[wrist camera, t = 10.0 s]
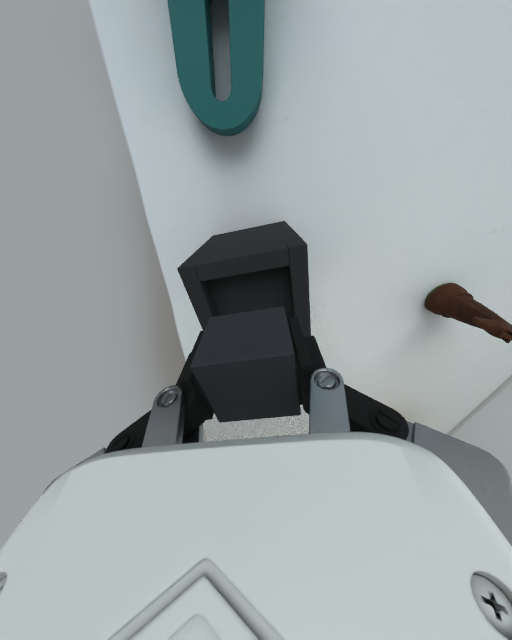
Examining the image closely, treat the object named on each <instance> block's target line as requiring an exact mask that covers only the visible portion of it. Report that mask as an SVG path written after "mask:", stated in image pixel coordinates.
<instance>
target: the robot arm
mask: <svg viewBox="0 0 512 640" xmlns="http://www.w3.org/2000/svg"><path fill="white" fill-rule="evenodd" d="M287 323H288V327H289V332H290V336H291V340H292V345H293V349H294V354H295V364H296V369H295V372H296V381H297V390H298V399H299V405H302V404H303V408H304V411H305V412H306V413H308V414H309V434H300V435H286V436H273V437H260V438H247V439H235V440H222V441H210V442H203V424H202V423H204V422H205V420H209V419H212V418H213V413H215V412H214V411H213V409H212V407H211V405H210V403H209V401H208V399H207V397H206V396H205V394H204V392H203V390H202V388H201V386H200V384H199V382H198V381H197V379H196V377H195V375H194V373H193V372H192V370H191V368H190V365H191V363H192V360H193V358H194V355H195V353H196V350H197V348H198V345H199V343H200V340H201V338H202V335H203V333H204V331H201V332H200V334H199V336H198V338H197V341H196V343H195V345H194V348H193V350H192V352H191V353H190V354H189V356H188V358H187V361H186V363H185V365H184V368H183V370H182V372H181V375H180V377H179V379H178V381H177V384H176V386H169V387H167V388H165V389H163V390H162V391H161V392H160V393H159V394H158V395H157V397H156V398H155V400H154V403H153V407H152V410H151V411H149V412H148V413H146V414H145V415H144V416H142V417H141V418H140V419H138V420H137V421H136V422H134V423H133V424H131V425H130V426H129V427H127V428H126V429H125V430H124V431H122V432H121V433H119V434H118V435H117V436H116V437H115V438H114V439H113V440H112V441H111V442H110V444H109V446H108V447H107V449H106V448H103V449H101V450H99V451H98V452H96V453H95V454H93V455H91V456H90V457H88V458H87V459H85V460H84V461H82V462H81V463H79V464H77V465H76V466H74V467H73V468H71V469H69V470H68V471H66V472H65V473H63V474H62V475H60V476H59V477H57V478H56V479H55V480H54V481H52V483H51V484H50V485H49V486H48V487H47V488H46V489H45V491H44V492H43V494H42V496H41V497H40V498H39V499H38V501H37V502H36V503H35V504H34V506H33V507H32V508H31V510H30V511H29V512H28V513H27V515H26V516H25V517H24V518H23V520H22V521H21V522H20V524H19V525H18V526H17V528H16V529H15V531H14V532H13V533H12V535H11V536H10V537H9V538H8V540H7V541H6V543H5V544H4V545H3V547H2V548H1V549H0V640H512V483H511V478H510V476H509V473H508V471H507V469H506V468H505V467H504V466H503V465H502V463H501V462H500V461H499V460H498V459H496V458H495V457H494V456H492V455H491V454H490V453H488V452H486V451H484V450H482V449H480V448H478V447H476V446H473V445H471V444H469V443H466V442H464V441H461V440H459V439H456V438H454V437H451V436H449V435H446V434H444V433H442V432H439V431H437V430H434V429H432V428H429V427H427V426H424V425H422V424H419V423H417V422H415V423H414V424H413V423H410V422H408V421H406V420H405V419H404V417H403V416H401V415H400V414H399V413H398V412H397V411H395V410H394V409H392V408H390V407H388V406H386V405H384V404H382V403H380V402H378V401H376V400H374V399H372V398H370V397H368V396H366V395H364V394H362V393H360V392H358V391H357V390H355V389H353V388H351V387H349V386H347V385H345V384H344V382H343V378H342V376H341V375H340V374H339V373H338V372H337V371H335V370H333V369H330V368H326V366H325V363H324V360H323V358H322V355H321V353H320V350H319V347H318V345H317V342H316V340H315V337H314V336H307V337H304V336H303V333H302V330H301V327H300V323H299V320H298V317H291V318H288V320H287Z"/></svg>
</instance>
